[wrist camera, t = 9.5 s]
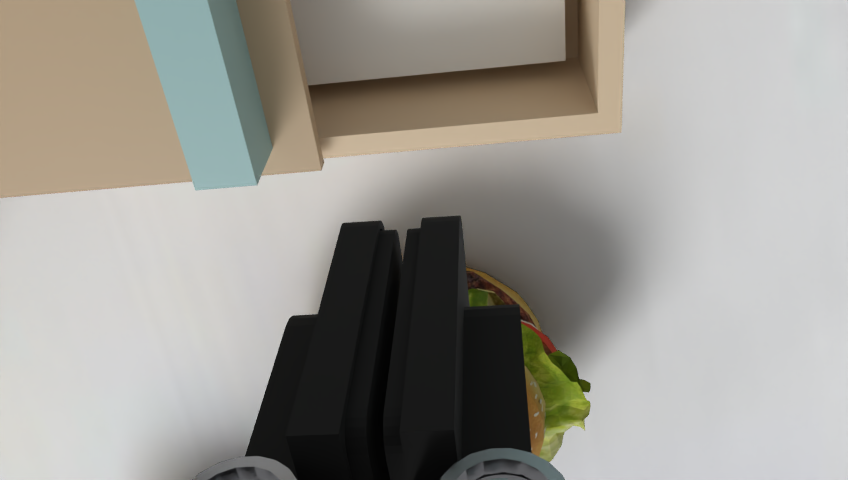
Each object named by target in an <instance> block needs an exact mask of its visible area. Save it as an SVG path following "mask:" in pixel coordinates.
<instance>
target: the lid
mask: <svg viewBox="0 0 848 480" xmlns="http://www.w3.org/2000/svg"><path fill="white" fill-rule="evenodd" d="M323 164H324V160H323V155H322V150H321V146H320V141H319V136H318V131H317V127H316V122H315V117H314V112H313V108H312V103H311V98H310V93H309V88H308V84H307V79H306V74H305V69H304V65H303V60H302V55H301V50H300V46H299V41H298V36H297V31H296V27H295V22H294V17H293V12H292V8H291V3H290V0H0V198H4V197H16V196H28V195H40V194H51V193H63V192H75V191H86V190H98V189H110V188H122V187H133V186H145V185H157V184H169V183H180V182H192V181H193V184H194V188H195V190H205V189H217V188H229V187H241V186H253V185H257V184H258V182H259V179H260V177H261V176H262V175H274V174H286V173H297V172H309V171H321V170H322V167H323Z"/></svg>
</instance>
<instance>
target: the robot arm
mask: <svg viewBox="0 0 848 480" xmlns="http://www.w3.org/2000/svg"><path fill="white" fill-rule="evenodd" d="M192 480H565V479H564V477H563V475H562V474H561V473H560V472H559V471H558V470H557V469H556V468H555V467H553V466H552V465H551V464H550V463H549V462H548V461H546V460H544V459H542V458H540V457H538V456H536V455H535V454H533V453H532V451H531V439H530V426H529V414H528V402H527V389H526V377H525V365H524V353H523V340H522V328H521V316H520V305H519V304H512V305H492V306H473V307H470V305H469V295H468V284H467V273H466V263H465V252H464V241H463V231H462V222H461V216H447V217H432V218H422V221H421V228H417V229H408V230H407V236H406V244H405V252H404V259H403V262H402V255H401V249H400V242H399V236H398V232H397V230H384V226H383V223H382V221H368V222H352V223H343V224H342V226H341V229H340V233H339V236H338V240H337V244H336V248H335V251H334V255H333V259H332V263H331V267H330V270H329V274H328V278H327V282H326V285H325V289H324V293H323V297H322V301H321V304H320V308H319V312H318V314H316V315H297V316H292V317H291V318H290V319H289V320H288V323H287V325H286V327H285V331H284V334H283V337H282V340H281V343H280V347H279V350H278V353H277V356H276V359H275V363H274V366H273V369H272V372H271V375H270V379H269V382H268V385H267V388H266V391H265V395H264V398H263V401H262V404H261V407H260V411H259V414H258V417H257V420H256V423H255V426H254V430H253V433H252V436H251V439H250V442H249V446H248V449H247V452H246V455H245V457H237V458H233V459H230V460H226V461H223V462H219V463H218V464H216V465H214V466H212V467H210V468H208V469H206V470H204V471H202V472H201V473H199V474H198V475H197V476H196V477H195V478H193V479H192Z"/></svg>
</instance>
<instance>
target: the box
mask: <svg viewBox="0 0 848 480" xmlns="http://www.w3.org/2000/svg"><path fill="white" fill-rule="evenodd" d="M290 3H291V8H292V12H293V17H294V22H295V27H296V31H297V36H298V41H299V46H300V50H301V55H302V60H303V65H304V69H305V74H306V79H307V84H308V88H309V93H310V98H311V103H312V108H313V112H314V117H315V122H316V127H317V131H318V136H319V141H320V146H321V150H322V155H323V158H333V157H344V156H356V155H367V154H379V153H391V152H402V151H414V150H425V149H437V148H448V147H460V146H471V145H483V144H494V143H506V142H517V141H529V140H540V139H552V138H563V137H575V136H586V135H598V134H609V133H621V126H622V93H623V59H624V25H625V0H290Z"/></svg>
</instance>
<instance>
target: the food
mask: <svg viewBox="0 0 848 480" xmlns="http://www.w3.org/2000/svg"><path fill="white" fill-rule="evenodd" d="M466 273H467V284H468V295H469V305H470V307H473V306H492V305H512V304H519V305H520V316H521V328H522V340H523V353H524V365H525V377H526V389H527V402H528V414H529V426H530V439H531V451H532V453H533V454H535V455H536V456H538V457H540V458H542V459H544V460H546V461H548V462H550V461H551V460H552V459H553V458H554V456H555V455H556V453H557V451H558V450H559V448H560V447H561V445H562V440H563V435H564V432H565V431H566V430H568V429H569V428H570V427H572V426H579V427H581V428H582V429H584V430H585V425H584V419H585V418H586V417H587V416H588V415H589V411H590V401H587V400H586V398H585V396H584V394H583V392H589V391H590V383H589V382H587V381H585V380H582V379H579V377H578V372H577V368H576V366H575V365H574V363H573V362H572V360H571V358H570V357H569V356H567V355H565V354H564V353H562V352H561V351H559V350H558V351H557V350H556V348H555V347H554V345H553V344H552V342H551V341H550V339H549V338H548V337H547V336H546V335H544V334H543V333H542V331H541V328H540V325H539V322H538V320H537V319H536V317H535V316H534V314H533V313H532V311H531V310H530V308H529V307H528V305H527V304H526V303H525V301H524V300H523V299H522V298H521V297H520V296H519V294H518V293H517V292H515V291H514V290H512V289H510V288H509V287H507V286H505V285H504V284H502V283H501V282H499V281H497V280H496V279H494V278H492V277H491V276H489V275H488V274H486V273H484V272H481V271H477V270H474V269H470V268H467V267H466Z"/></svg>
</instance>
